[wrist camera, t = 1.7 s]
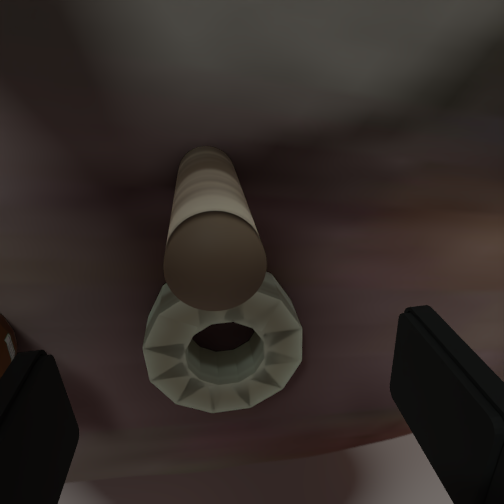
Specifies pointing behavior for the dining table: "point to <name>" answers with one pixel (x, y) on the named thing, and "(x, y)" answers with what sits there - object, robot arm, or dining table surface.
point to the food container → (6, 345)
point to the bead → (223, 362)
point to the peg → (212, 235)
